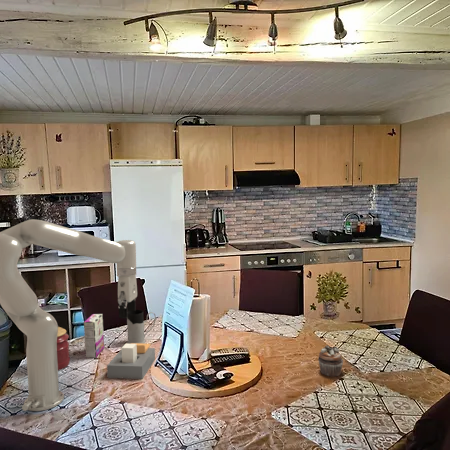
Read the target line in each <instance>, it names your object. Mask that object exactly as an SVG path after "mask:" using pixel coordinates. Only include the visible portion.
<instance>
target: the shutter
mask: <svg viewBox="0 0 450 450" xmlns="http://www.w3.org/2000/svg"><path fill="white" fill-rule="evenodd" d="M131 344H137V353H145V352H146V351H147V350H148V348H151V343H144V344H143V343H131Z"/></svg>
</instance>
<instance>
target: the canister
mask: <svg viewBox="0 0 450 450" xmlns="http://www.w3.org/2000/svg"><path fill="white" fill-rule="evenodd" d="M69 338H70V337H69V334H68V333H67V330H66V329H65V328H63V327H60V326H58V334H57V363H58V371H60V370H61V371H62V370H63V369H65V368H67V367H68V366H69V365H70V362H71V358H70V343H69V341H68V339H69Z"/></svg>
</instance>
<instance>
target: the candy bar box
mask: <svg viewBox="0 0 450 450" xmlns="http://www.w3.org/2000/svg"><path fill="white" fill-rule="evenodd" d="M83 326H84V327H83V329H84V330H83V333H84V344H85V345H84V347H85V358H87V359H95V358H97V357H98V356H99V355H100V354H101V353H102V351H103V350H104V349H105V338H104V336H105V334H104V319H103V313H93V314H91V315H90V316H89V317H88V318H87V319H86V320H85V321H83Z"/></svg>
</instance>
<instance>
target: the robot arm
mask: <svg viewBox="0 0 450 450" xmlns="http://www.w3.org/2000/svg"><path fill="white" fill-rule="evenodd" d="M136 244H137V243H136V242H135V241H134V240H131V239H125V240H124V239H123V240H118V241H111V240H108V239H106V238H101V237H99V236H95V235H91V234H89V233H86V232H83V231H80V230H76V229H73V228H69V227H66V226H62V225H60V224H59V225H58V224H56V223H53V222H50V221H45V220H41V219H35V218H34V219H33V218H32V219H28V220H25V221H23V222H20V223H17V224H16V225H14V226H11V227H9V228H7V229H4V230H2V231H0V306H1V308H2V309H3V310H4V312H5V313H6V314H7V316H8V317H9V319H10V320H11V321H12V322H13V323H14V324H15V325H16V327H17V328H18V329H19V330H20V332H22V333H23V334H24V335H25V336H26V340H27V341H26V350H25V352H26V354H25V355H26V356H25V357H26V368H27V371H26V372H27V387H28V388H27V389H28V395H27V397H26V398H25V400H24V402H23V405H22V406H21V409H22V411H25V412H26V411H30V412H41V411H46V410H50V409H53V408H55V407H57V406H58V405H60V404H61V403H62V402H63V401H64V399H65V394H64V392H63V391H62V390H60V389H59V388H60V386H59V383H60V382H59V370H58V363H57V334H58V327H59V325H58V322H57V320H56V318H55V317H54V316H53V315H52V314H51V313H49V312H48V311H45V310H43V309H42V307H40V306H39V302H38V301H39V300H38V297H37V295H36V293H35V292H34V291H33V289H32V288H31V286H29V285H28V283H27V282H26V280H25V279H24V278H23V276H22V274H21V273H20V271H19V269H18V261H19V260H20V258H21V256H22V253H23V249H25V248H27V247H29V246H31V245H35V246H40V247H43V248H46V249H50V250H55V251H59V252H61V253H62V252H63V253H65V254H66V253H67V254H71V255H75V256H82V257H88V258H91V259H96V260H100V261H102V262H108V263H112V264H116V276H117V277H118V278H117V305H118V318H119V319H127V317H128V316H127V312H128V311H135V310H137V309H136V299H137V297H138V285H137V283H138V282H137V245H136Z"/></svg>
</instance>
